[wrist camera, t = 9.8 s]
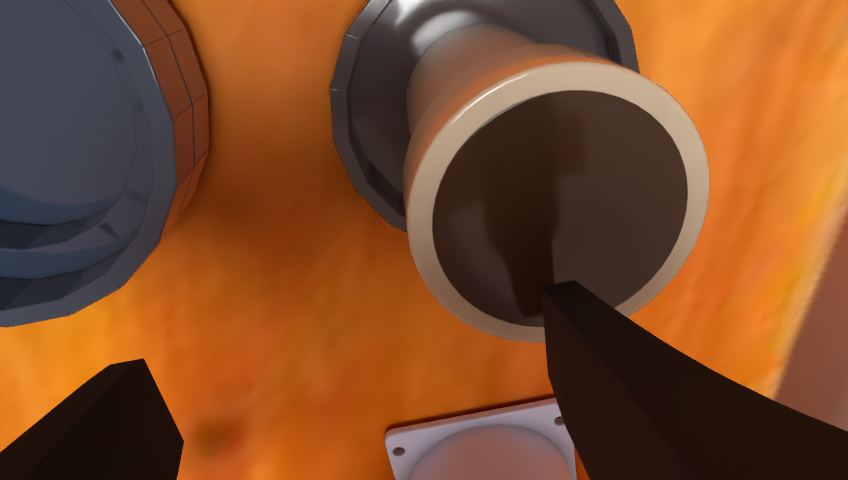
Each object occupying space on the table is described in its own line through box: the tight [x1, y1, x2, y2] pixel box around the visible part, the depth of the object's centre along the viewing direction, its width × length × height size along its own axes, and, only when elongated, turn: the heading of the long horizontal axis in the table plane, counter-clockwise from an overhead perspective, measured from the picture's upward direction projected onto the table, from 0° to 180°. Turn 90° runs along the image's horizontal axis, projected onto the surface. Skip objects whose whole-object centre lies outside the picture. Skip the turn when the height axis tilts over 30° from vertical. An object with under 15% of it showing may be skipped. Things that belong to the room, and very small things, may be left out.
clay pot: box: [403, 24, 709, 343], centre depth 15 cm, size 6×6×9 cm
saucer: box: [330, 0, 640, 233], centre depth 18 cm, size 9×10×2 cm
